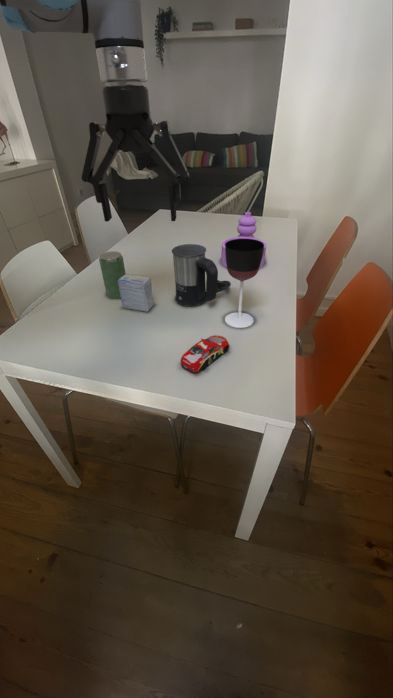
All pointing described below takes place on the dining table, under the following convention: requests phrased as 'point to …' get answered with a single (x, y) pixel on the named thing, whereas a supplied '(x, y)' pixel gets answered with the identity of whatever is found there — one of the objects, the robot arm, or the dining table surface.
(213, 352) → the race car
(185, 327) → the dining table surface
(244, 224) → the purple rounded knobbed piece
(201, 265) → the milk frother
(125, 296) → the medicine box
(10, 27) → the robot arm
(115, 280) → the green can
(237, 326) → the wineglass
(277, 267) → the dining table surface
